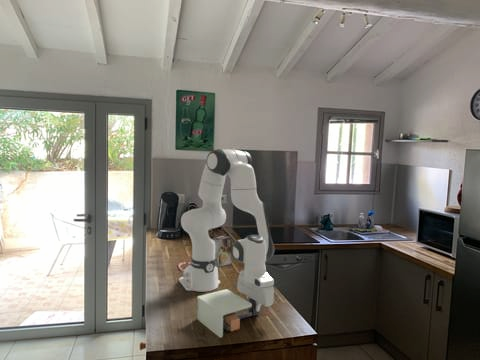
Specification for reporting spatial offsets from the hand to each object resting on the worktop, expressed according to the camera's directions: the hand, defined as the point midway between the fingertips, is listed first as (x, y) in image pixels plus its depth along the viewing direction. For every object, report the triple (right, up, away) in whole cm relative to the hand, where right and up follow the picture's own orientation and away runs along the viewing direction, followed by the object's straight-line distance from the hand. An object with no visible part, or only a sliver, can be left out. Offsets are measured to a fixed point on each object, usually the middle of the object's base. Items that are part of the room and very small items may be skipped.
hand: (254, 308), depth 147 cm
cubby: (-12, -3, -7) cm, 14 cm away
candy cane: (-37, +2, +57) cm, 68 cm away
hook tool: (-5, -3, -6) cm, 8 cm away
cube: (-9, -3, -11) cm, 14 cm away
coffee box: (-16, +3, +64) cm, 66 cm away
